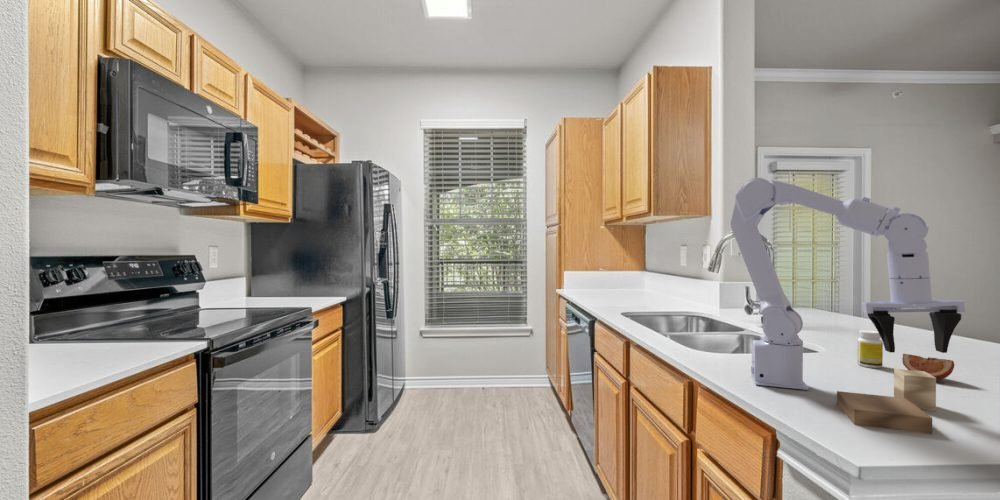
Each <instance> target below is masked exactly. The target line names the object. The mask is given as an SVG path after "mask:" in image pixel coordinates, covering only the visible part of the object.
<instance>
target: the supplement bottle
mask: <svg viewBox="0 0 1000 500" xmlns="http://www.w3.org/2000/svg"><path fill="white" fill-rule="evenodd" d="M883 346H884V344H883V341H882V339H881V337H880V334H879V332H878V331H877V330H869V329H864V330H863V329H862V330H859V338H858V339H857V365H859V366H860V367H864V368H865V367H866V368H870V369H871V368H872V369H881V368H883V353H884V352H883V349H884V348H883Z"/></svg>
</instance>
